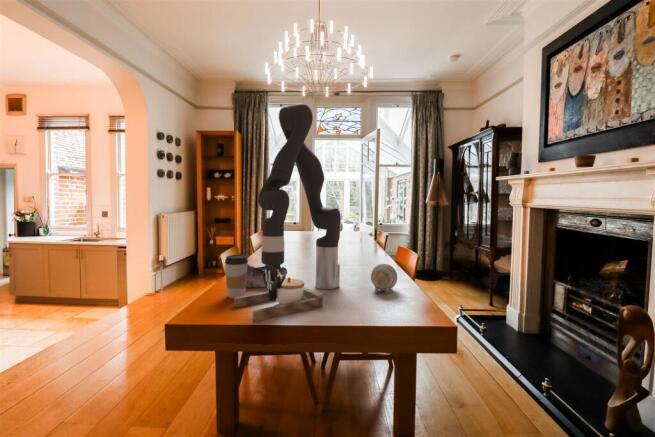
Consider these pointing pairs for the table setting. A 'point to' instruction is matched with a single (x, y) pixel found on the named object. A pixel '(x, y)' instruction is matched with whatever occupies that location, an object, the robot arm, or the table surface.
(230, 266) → the coffee cup
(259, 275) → the geode
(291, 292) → the lidded jar
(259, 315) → the channel
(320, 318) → the table surface
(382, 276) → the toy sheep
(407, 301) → the table surface
